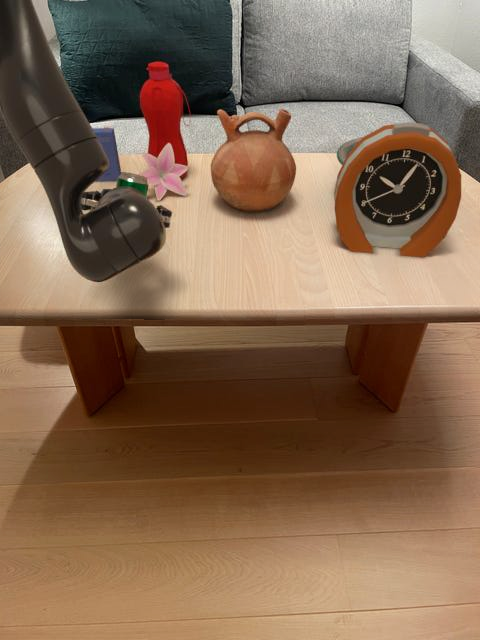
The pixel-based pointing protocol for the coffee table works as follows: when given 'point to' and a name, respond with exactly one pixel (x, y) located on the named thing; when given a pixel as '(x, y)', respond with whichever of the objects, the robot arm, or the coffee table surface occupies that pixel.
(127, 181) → the soda can
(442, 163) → the alarm clock
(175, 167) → the lily
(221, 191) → the jug
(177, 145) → the water bottle
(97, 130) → the walkman
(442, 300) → the coffee table surface
